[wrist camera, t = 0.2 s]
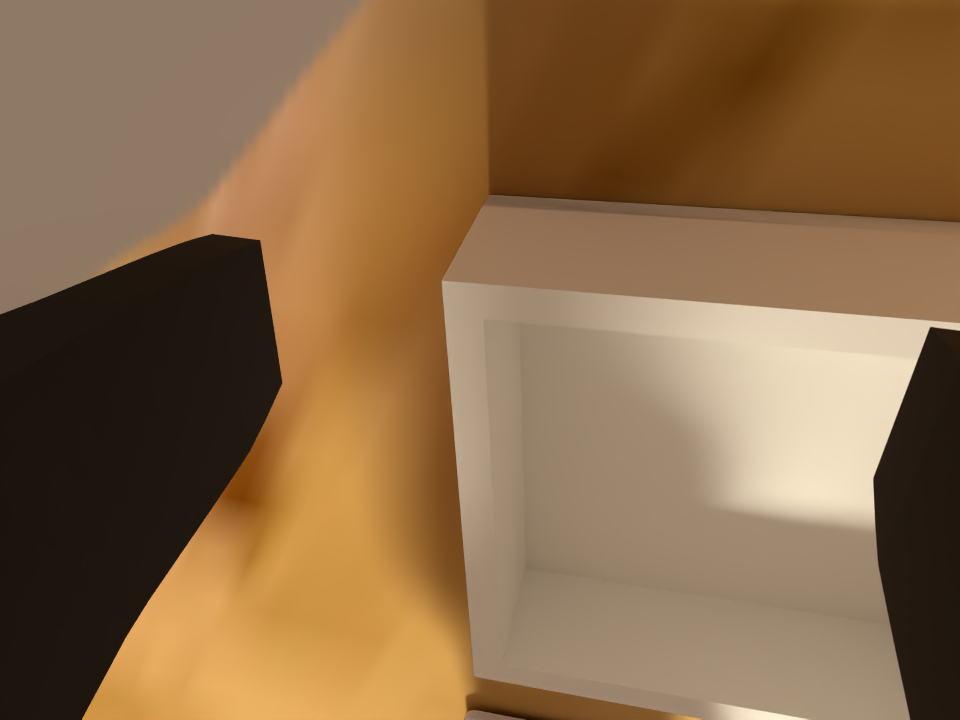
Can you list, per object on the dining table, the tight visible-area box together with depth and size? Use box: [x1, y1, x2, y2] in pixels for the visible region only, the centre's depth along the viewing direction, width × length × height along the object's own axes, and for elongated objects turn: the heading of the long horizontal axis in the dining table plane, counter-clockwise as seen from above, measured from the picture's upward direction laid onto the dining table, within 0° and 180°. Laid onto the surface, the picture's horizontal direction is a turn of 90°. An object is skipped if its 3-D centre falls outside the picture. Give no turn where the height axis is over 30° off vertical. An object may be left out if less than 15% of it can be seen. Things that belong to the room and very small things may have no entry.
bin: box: [442, 195, 960, 720], centre depth 20 cm, size 13×13×4 cm
